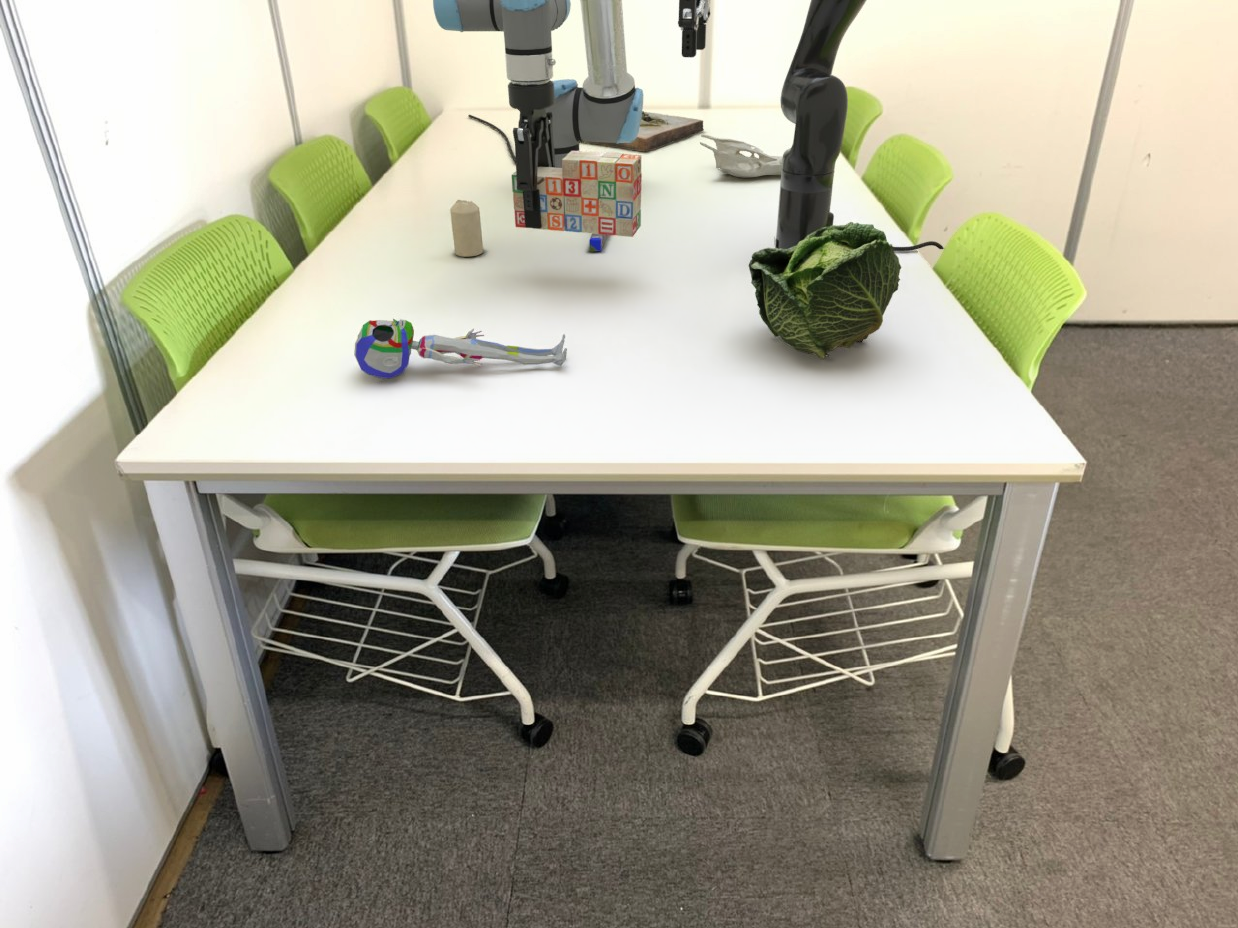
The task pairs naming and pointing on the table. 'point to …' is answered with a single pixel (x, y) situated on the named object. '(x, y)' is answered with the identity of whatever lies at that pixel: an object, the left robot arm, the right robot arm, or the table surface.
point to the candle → (466, 228)
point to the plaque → (659, 131)
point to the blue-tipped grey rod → (596, 242)
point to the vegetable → (826, 287)
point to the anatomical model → (743, 159)
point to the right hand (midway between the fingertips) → (693, 53)
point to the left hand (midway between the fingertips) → (539, 221)
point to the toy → (435, 349)
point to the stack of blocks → (588, 194)
